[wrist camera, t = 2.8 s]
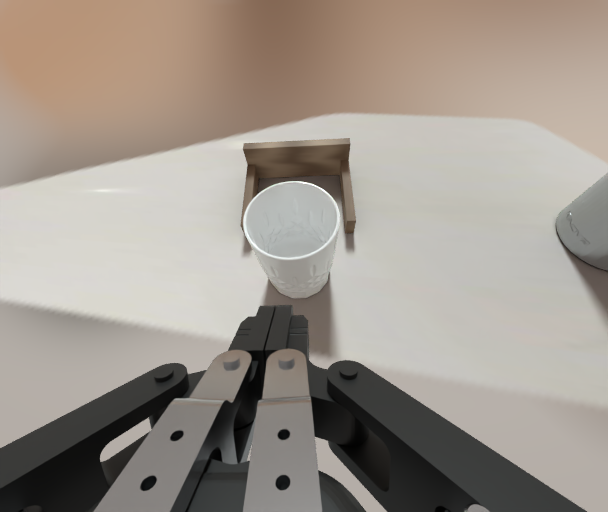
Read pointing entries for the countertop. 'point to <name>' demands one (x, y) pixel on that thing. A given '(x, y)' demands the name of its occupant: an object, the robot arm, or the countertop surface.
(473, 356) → the countertop surface
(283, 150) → the walnut bay
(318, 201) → the white cup
